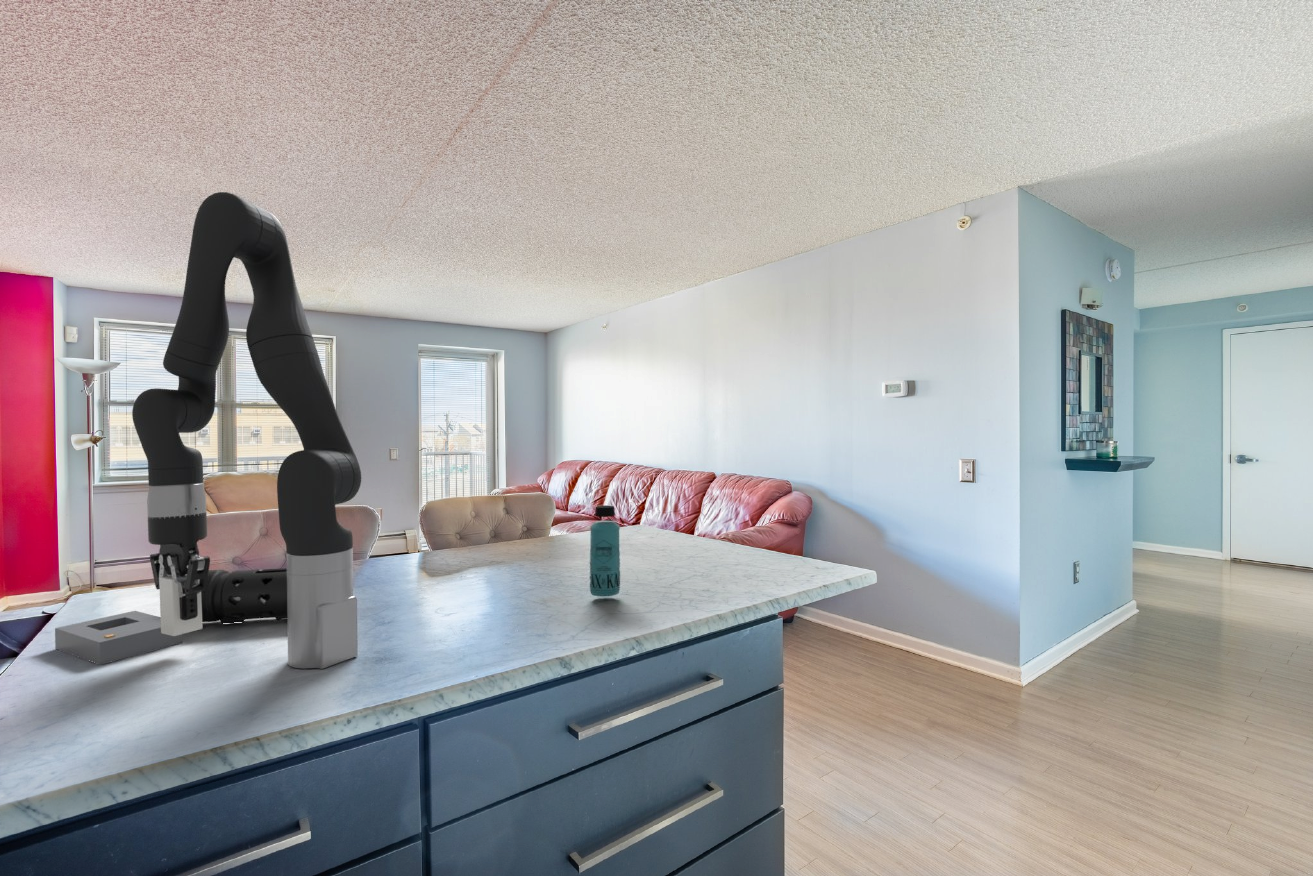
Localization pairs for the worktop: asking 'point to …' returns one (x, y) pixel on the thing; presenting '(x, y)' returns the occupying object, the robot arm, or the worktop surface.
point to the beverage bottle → (604, 555)
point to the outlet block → (114, 637)
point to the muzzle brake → (244, 595)
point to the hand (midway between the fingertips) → (181, 616)
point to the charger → (175, 609)
